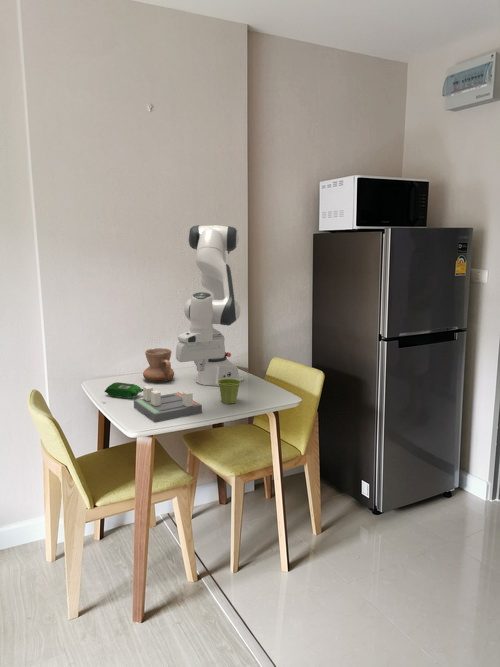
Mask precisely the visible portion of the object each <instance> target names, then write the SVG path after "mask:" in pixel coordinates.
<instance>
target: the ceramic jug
mask: <svg viewBox="0 0 500 667" xmlns="http://www.w3.org/2000/svg"><path fill="white" fill-rule="evenodd" d="M144 353H145V358H146V360H147V364H148V365H149V366H148V367H146V369H145V370H143V372H142V376H143V378H144V379H145V380H147V381H149V382H153V383H154V382H156V383H164V382H166V381H169V380H172V379H173V378H174V377H175V371H174V370H173V369H172V365H171V361H170V360H171V357H172V349H170V348H166V347H165V348H164V347H163V348H162V347H154V348H148V349H146V350H145V351H144Z"/></svg>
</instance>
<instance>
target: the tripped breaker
mask: <svg viewBox="0 0 500 667" xmlns="http://www.w3.org/2000/svg"><path fill="white" fill-rule="evenodd" d="M182 394H183V405H184V406H186V407H189V406H193V399H194V398H193V397H194V396H193V395H194V394H193V392H191V391H189V390H186V391H182Z"/></svg>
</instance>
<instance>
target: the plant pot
mask: <svg viewBox="0 0 500 667" xmlns="http://www.w3.org/2000/svg"><path fill="white" fill-rule="evenodd" d="M241 383H242V381H239V380H236V379H221V380H219V381H218V384H219V386H218V387H219V393H220V399H221V400H220V401H221V403H223V404H226V405H231V404H236V403H237V399H238V393H239V387H240V385H241Z"/></svg>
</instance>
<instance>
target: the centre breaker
mask: <svg viewBox="0 0 500 667" xmlns="http://www.w3.org/2000/svg"><path fill="white" fill-rule="evenodd" d="M161 395H162V393H161V392H160V391H159V390H156V389H155V390H153V391H151V404H152V405H154V406H159V405H161Z"/></svg>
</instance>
